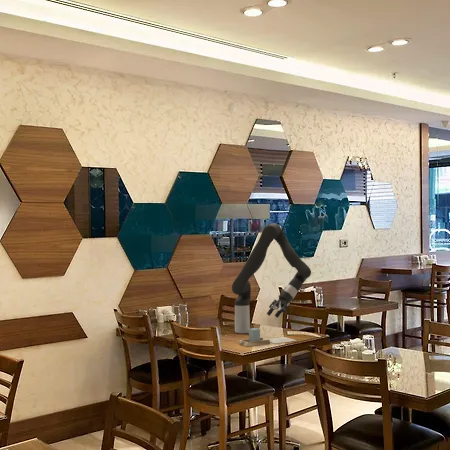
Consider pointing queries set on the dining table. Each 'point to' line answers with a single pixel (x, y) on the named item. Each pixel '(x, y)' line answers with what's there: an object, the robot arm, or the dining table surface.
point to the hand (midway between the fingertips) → (271, 315)
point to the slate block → (254, 334)
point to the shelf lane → (254, 343)
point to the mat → (280, 340)
